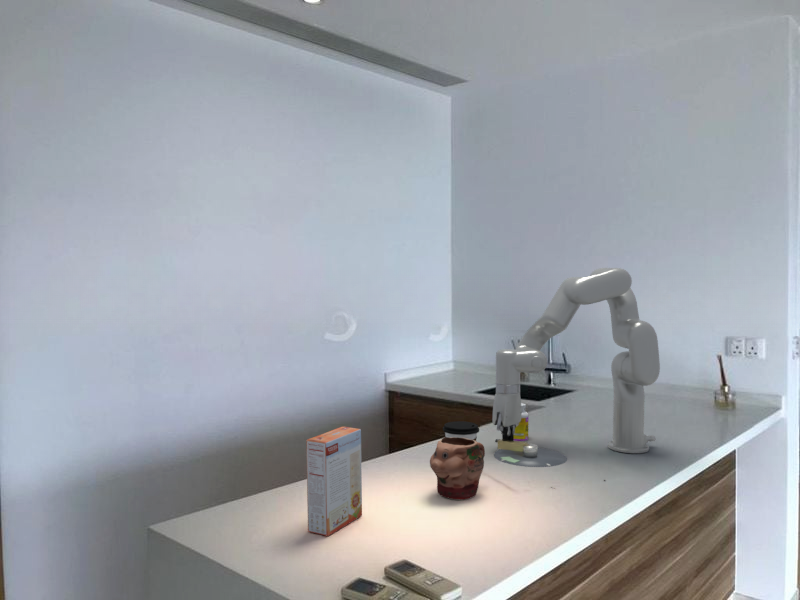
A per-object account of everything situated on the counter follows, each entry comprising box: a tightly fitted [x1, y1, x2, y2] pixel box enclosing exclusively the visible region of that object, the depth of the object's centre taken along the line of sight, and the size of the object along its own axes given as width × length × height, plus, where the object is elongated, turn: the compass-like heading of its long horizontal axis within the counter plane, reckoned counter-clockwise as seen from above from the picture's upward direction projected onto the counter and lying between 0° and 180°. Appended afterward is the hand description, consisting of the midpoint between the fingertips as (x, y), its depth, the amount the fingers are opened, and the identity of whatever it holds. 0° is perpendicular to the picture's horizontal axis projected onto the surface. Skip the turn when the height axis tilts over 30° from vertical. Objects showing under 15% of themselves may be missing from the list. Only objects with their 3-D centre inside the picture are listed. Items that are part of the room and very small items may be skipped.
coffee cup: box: [442, 420, 480, 441], centre depth 194 cm, size 11×11×12 cm
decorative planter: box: [429, 436, 486, 501], centre depth 169 cm, size 20×12×14 cm, turn 141°
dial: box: [493, 447, 568, 468], centre depth 199 cm, size 22×22×1 cm
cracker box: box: [305, 426, 363, 537], centre depth 148 cm, size 14×6×21 cm, turn 150°
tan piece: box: [494, 438, 539, 457], centre depth 201 cm, size 13×4×4 cm, turn 64°
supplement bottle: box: [513, 402, 529, 442], centre depth 220 cm, size 7×7×13 cm
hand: (507, 446), depth 205 cm, fingers closed
